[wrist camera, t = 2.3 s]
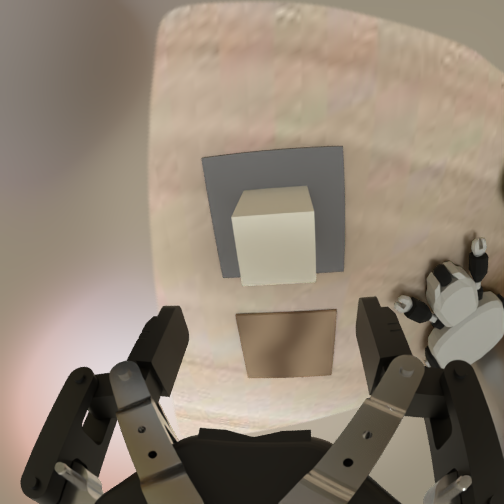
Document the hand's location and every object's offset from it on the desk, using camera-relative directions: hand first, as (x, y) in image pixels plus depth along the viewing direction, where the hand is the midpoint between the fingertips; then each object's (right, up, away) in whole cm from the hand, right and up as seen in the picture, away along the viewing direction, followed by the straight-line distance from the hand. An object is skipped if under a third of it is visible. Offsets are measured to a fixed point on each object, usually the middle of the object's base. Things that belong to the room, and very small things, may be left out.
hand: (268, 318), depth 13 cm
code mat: (+1, +6, +12) cm, 13 cm away
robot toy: (+22, -3, +14) cm, 26 cm away
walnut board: (+3, -7, +18) cm, 20 cm away
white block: (+1, +6, +11) cm, 13 cm away
